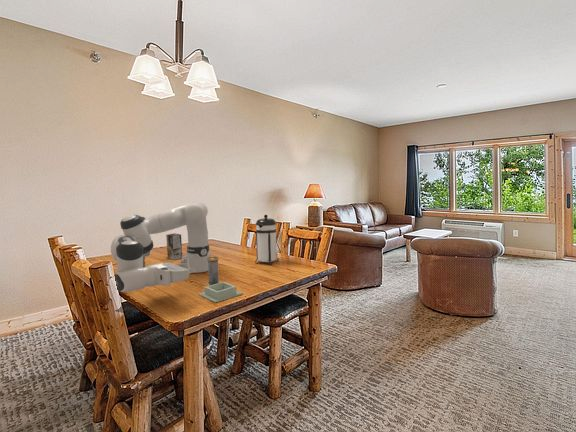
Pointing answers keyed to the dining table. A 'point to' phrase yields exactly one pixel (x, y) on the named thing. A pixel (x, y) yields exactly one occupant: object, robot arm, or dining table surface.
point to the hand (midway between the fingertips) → (189, 267)
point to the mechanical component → (144, 257)
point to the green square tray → (220, 292)
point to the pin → (213, 270)
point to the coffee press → (266, 240)
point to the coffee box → (174, 246)
